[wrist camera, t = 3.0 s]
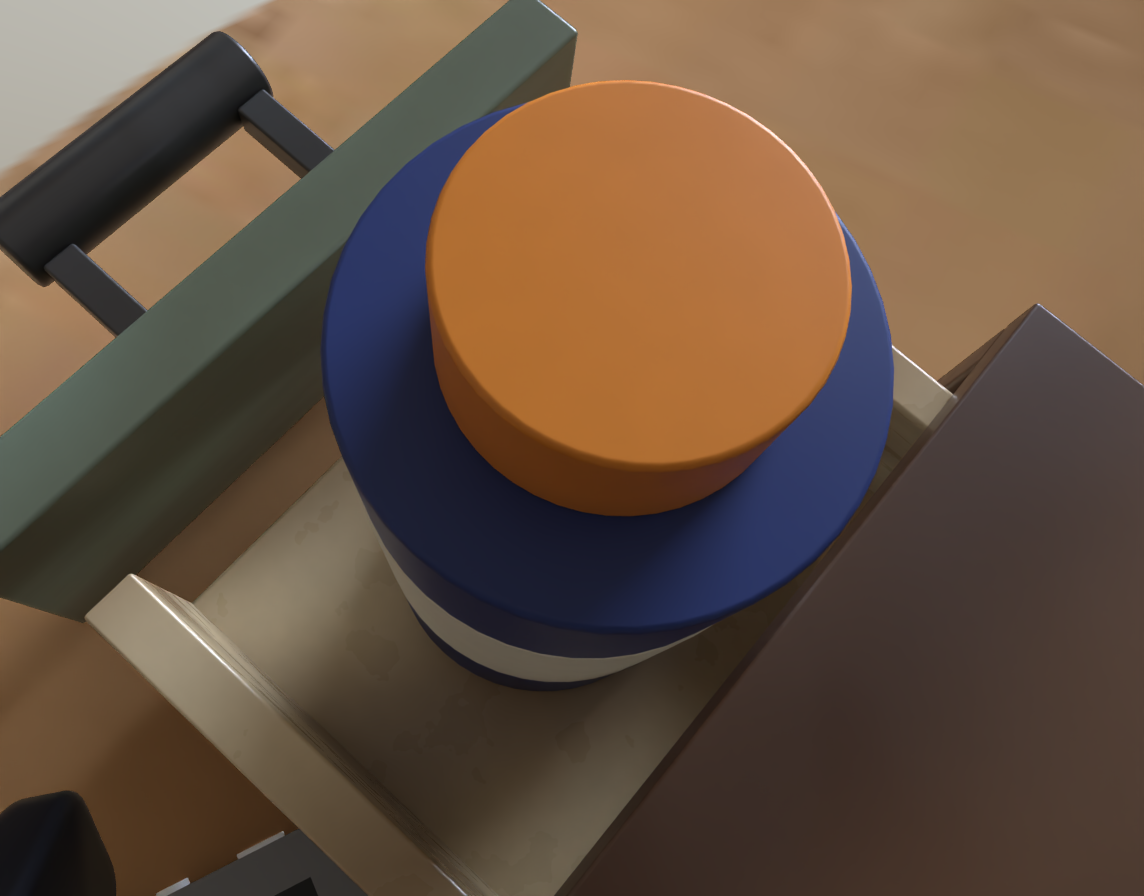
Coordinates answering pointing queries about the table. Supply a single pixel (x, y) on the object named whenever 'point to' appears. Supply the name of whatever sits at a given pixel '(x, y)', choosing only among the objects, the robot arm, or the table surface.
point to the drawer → (315, 499)
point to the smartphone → (274, 872)
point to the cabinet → (937, 671)
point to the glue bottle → (602, 377)
